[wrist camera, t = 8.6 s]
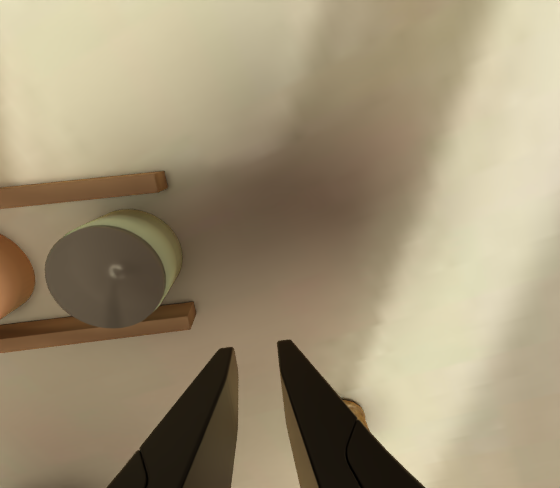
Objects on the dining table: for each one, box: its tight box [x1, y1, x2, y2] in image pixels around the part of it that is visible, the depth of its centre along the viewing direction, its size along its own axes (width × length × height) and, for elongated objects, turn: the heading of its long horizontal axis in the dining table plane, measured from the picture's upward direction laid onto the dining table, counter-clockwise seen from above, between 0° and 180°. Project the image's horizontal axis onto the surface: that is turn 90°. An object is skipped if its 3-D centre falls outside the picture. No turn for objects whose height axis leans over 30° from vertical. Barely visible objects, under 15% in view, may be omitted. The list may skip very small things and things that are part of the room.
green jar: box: [45, 209, 182, 328], centre depth 17 cm, size 6×6×4 cm
